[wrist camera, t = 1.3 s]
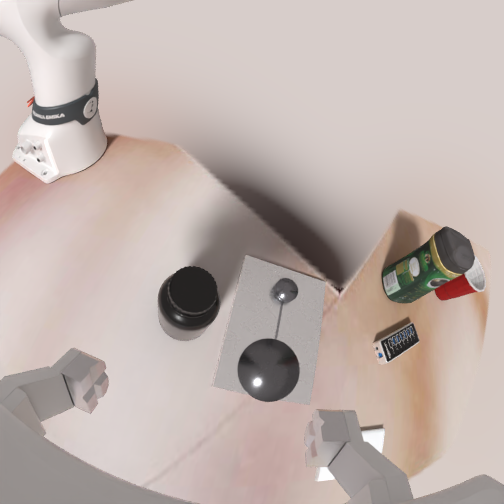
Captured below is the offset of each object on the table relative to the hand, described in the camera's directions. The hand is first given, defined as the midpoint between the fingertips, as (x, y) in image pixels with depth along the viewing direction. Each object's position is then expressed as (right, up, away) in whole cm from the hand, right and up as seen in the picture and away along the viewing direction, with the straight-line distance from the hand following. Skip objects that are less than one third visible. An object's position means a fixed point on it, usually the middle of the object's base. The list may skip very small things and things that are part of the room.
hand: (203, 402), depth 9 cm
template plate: (+5, -6, +30) cm, 31 cm away
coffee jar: (+31, -2, +42) cm, 52 cm away
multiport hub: (+28, -12, +35) cm, 47 cm away
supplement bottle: (-7, -3, +27) cm, 28 cm away
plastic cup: (+48, -4, +46) cm, 67 cm away
